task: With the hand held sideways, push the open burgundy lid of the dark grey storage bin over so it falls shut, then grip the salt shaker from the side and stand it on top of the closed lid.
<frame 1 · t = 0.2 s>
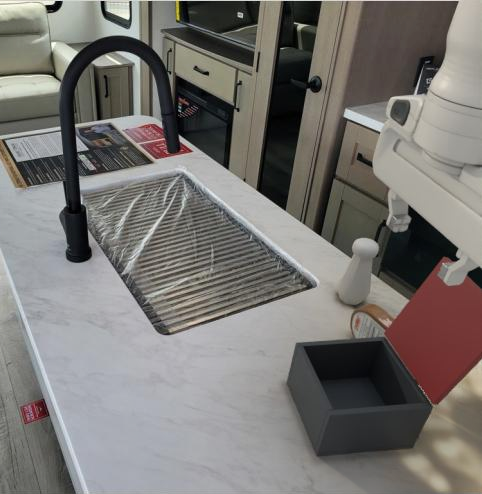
hand: (420, 252, 50), 31 cm above the worktop, tool pointing down, fingers open, 8 cm apart
tin: (380, 362, 78), on the worktop
salt shaker: (350, 299, 91), on the worktop
storage bin lid: (440, 329, 61), point 16 cm above the worktop, hinge at 108.1°
dark grey storage bin: (345, 413, 70), on the worktop
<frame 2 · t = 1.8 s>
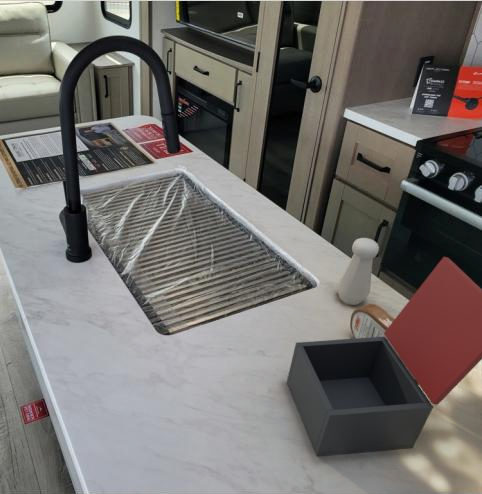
nothing on the worktop moved.
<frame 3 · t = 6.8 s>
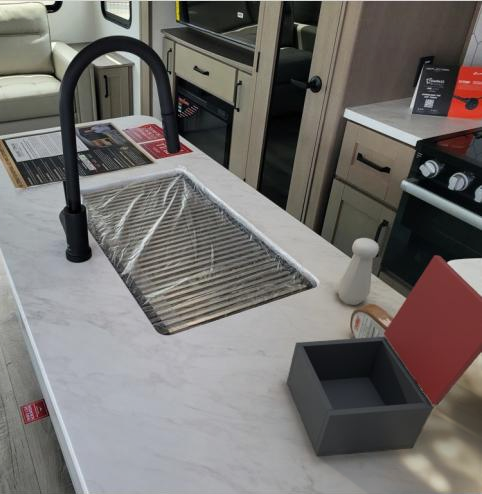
hand: (449, 319, 60), 18 cm above the worktop, tool horizontal, fingers closed
storage bin lid: (436, 328, 61), point 16 cm above the worktop, hinge at 102.3°, touching gripper
everything else where it was.
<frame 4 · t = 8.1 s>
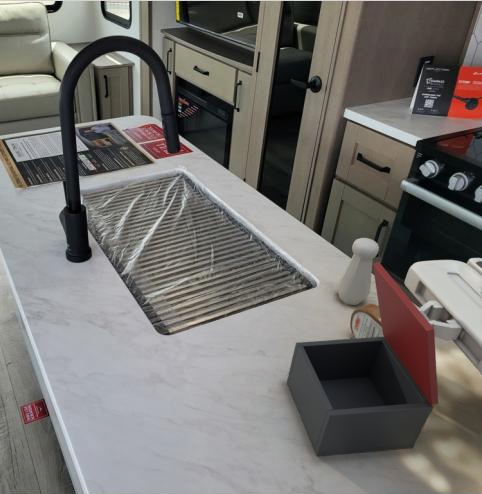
hand: (411, 322, 60), 18 cm above the worktop, tool horizontal, fingers closed
storage bin lid: (404, 332, 61), point 16 cm above the worktop, hinge at 68.8°
everything else where it was.
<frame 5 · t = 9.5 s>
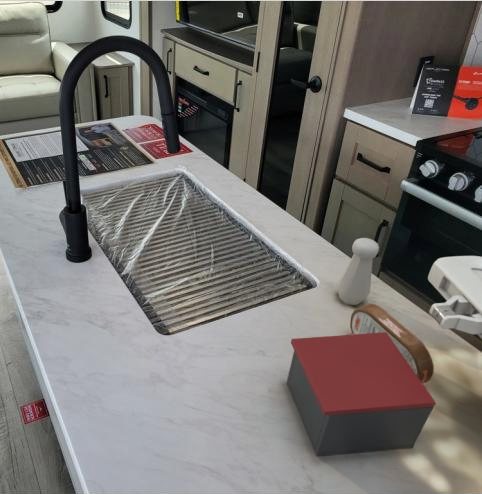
hand: (436, 316, 61), 18 cm above the worktop, tool horizontal, fingers closed
storage bin lid: (357, 370, 65), point 9 cm above the worktop, hinge at -0.1°
everything else where it was.
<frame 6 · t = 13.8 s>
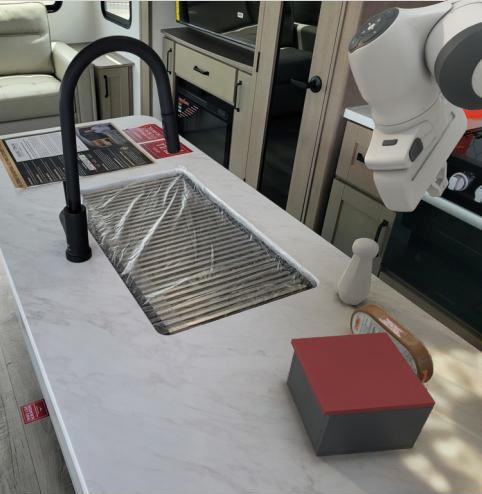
hand: (439, 190, 76), 24 cm above the worktop, tool tilted 35°, fingers closed
nothing on the worktop moved.
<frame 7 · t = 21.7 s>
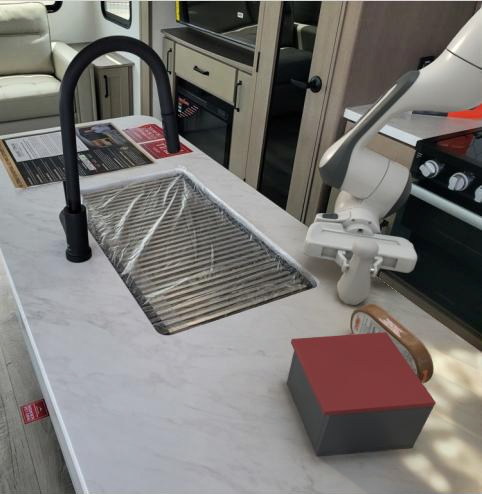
hand: (359, 271, 87), 7 cm above the worktop, tool horizontal, fingers closed on salt shaker, 3 cm apart
salt shaker: (350, 299, 91), on the worktop, touching gripper
everything else where it was.
when the fingers open (17 cm above the worktop, at t = 29.2 s): salt shaker stays where it is, resting on storage bin lid.
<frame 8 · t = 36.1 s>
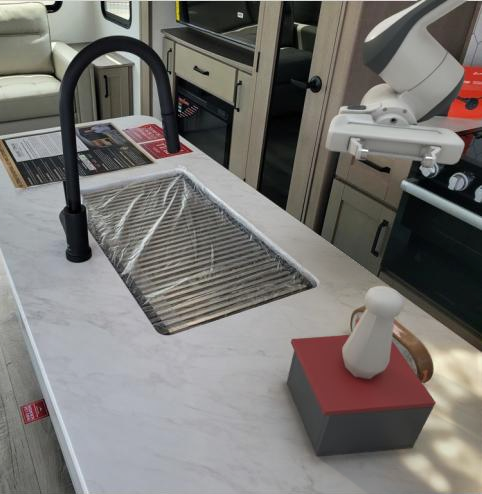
hand: (395, 159, 72), 30 cm above the worktop, tool horizontal, fingers open, 8 cm apart
salt shaker: (360, 368, 65), point 9 cm above the worktop, touching storage bin lid
storage bin lid: (357, 370, 65), point 9 cm above the worktop, hinge at -0.2°, touching dark grey storage bin, salt shaker
everything else where it was.
at the end: storage bin lid at +0° (first picture: +108°); salt shaker inside the target area on the dark grey storage bin (0.1 cm from its centre), point 9.5 cm above the dark grey storage bin's base; salt shaker tilted 0° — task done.
